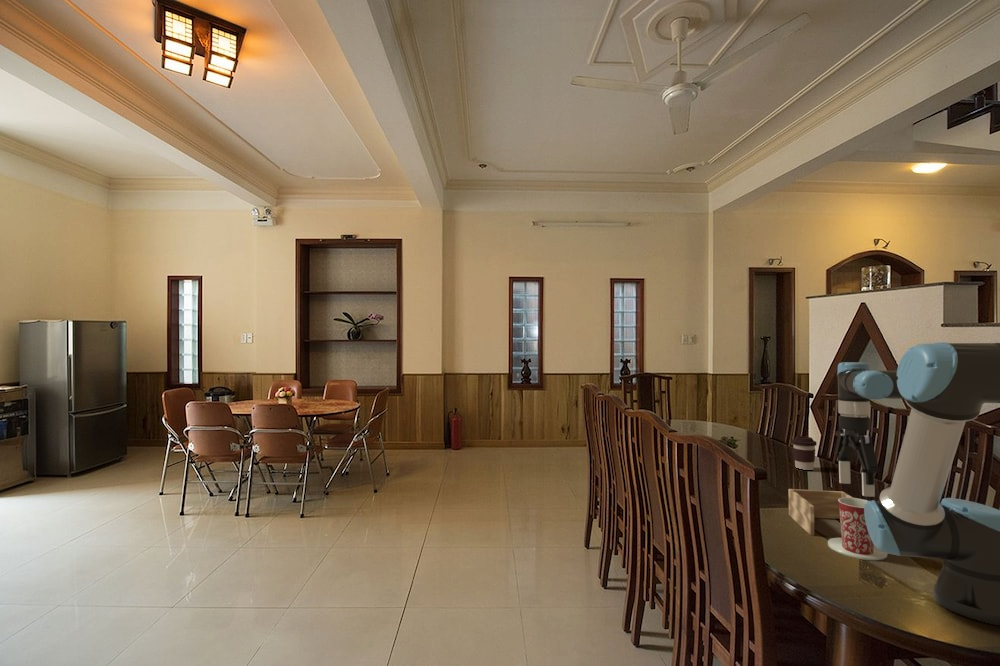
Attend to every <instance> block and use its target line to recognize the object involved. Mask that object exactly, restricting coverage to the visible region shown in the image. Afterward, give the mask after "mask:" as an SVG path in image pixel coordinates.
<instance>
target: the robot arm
mask: <svg viewBox="0 0 1000 666" xmlns="http://www.w3.org/2000/svg"><path fill="white" fill-rule="evenodd" d="M836 376H837V395H838V396H837V397H838V399H837V408H838V409H837V410H838V411H837V412H838V414H840V415H839V416H838V427H839V429H838V439H837V443H836V446H835V452H834V457H835V458H837V460H838V475H839V477H838V479H839V480H838V481H839V484H845V485H846V484H847V485H850V484H851V461H852V460H851V458H850V457H851V455H852V452H853V451H855V452H856V454H857V457H858V460H859V463H860V465H861V468H862V469H861V470H860V473H861V494H862V496H863V497H874V498H875V497H876V496H875V495H876V492H875V491H876V490H875V474H876V473H879V472H880V468H879V463H878V460H877V456H876V452H875V448H874V445H873V437H872V435H866V433H865V432H866V431H870V430H871V427H872V425H871V424H872V423H871V418H870V417H869V416H870V415H871V408H872V404H871V400H883V399H889V400H891V399H894V400H895V399H897V400H899V399H900V400H902V399H903V400H904V401H905V403H906V405H907V406H908V407H910V409H911V410H910V413H909V416H908V417H909V418H908V420H907V423H906V424H907V425H906V428H905V431H904V436H903V439H902V442H901V446H900V447H901V448H900V451H899V454H898V459H897V463H896V465H895V469H894V473H893V478H892V482H891V484H890V486H888V487H887V488H884V489H883V490H881V492H880V494H879V498H878V500H877V501H876V500H874V499H872V500H867V502H866V503H865V506H864V515H865V522H866V526H867V530H868V533H869V535H870V538H871V540H872V542H873V544H874V545H875V547H876V548H877V549H878V550H880V551H881V552H883V553H887V555H889V554H890V555H895V556H897V557H898V556H899V557H911V558H912V557H914V558H925V559H936V560H942V568H941V571H940V572H939V574H938V576H937V579H936V582H935V584H934V585H933V598H934V600H935V601H936V602H937V604H939V605H940V606H942V607H943V608H945V609H946V608H947V609H946V610H948V609H949V610H948V611H950V610H951V611H950V612H952V611H954V612H956V613H955V614H957V613H959V614H961V615H964V616H966V617H965V618H967V617H969V618H968V619H970V618H972V619H971V620H973V619H976V620H978V621H977V622H980V621H982V622H981V623H984V622H985V623H984V624H988V623H989V624H988V625H994V626H999V627H1000V509H997V508H995V507H992V506H989V505H986V504H983V503H979V502H976V501H970V500H966V499H962V498H961V499H960V498H953V497H944V498H942V495H943V493H944V490H945V487H946V484H947V480H948V478H949V474H950V471H951V469H952V465H953V462H954V459H955V456H956V453H957V450H958V447H959V443H960V440H961V438H962V434H963V431H964V427H965V425H966V423H967V422H970V421H974V420H975V419H977V418H978V416H979V415H980V413H981V409H982V407H983V405H984V404H1000V342H973V343H972V342H965V343H959V342H958V343H953V342H951V343H950V342H949V343H948V342H944V341H943V342H941V341H937V342H932V343H921V344H915V345H914V346H912V347H910V348H909V349H907V350H906V351H905V352H904V354H903V355H902V356H901V359H900V360H899V363H898V365H897V370H874V369H873V370H871V369H870V366H869V364H868V363H867V362H854V361H853V362H852V361H851V362H849V361H845V362H844V361H843V362H839V363H838V365H837V373H836ZM954 612H953V613H954ZM959 614H958V615H959ZM961 615H960V616H961ZM964 616H963V617H964ZM976 620H975V621H976Z"/></svg>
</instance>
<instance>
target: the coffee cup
mask: <svg viewBox="0 0 1000 666" xmlns="http://www.w3.org/2000/svg"><path fill="white" fill-rule="evenodd" d="M791 444H792V445H793V447H792V450H793V460H794V466H795V467H796V468H799V469H803V470H813V471H814V469H815V468H814V467H815V460H816V459H815V457H816V446H817V441H815V440H814V439H813V437H810V436H804V435H803V436H802V435H801V436H799V435H798V436H795V437H794V438H792V439H791ZM796 468H795V469H796Z"/></svg>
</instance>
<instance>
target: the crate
mask: <svg viewBox="0 0 1000 666" xmlns="http://www.w3.org/2000/svg"><path fill="white" fill-rule="evenodd" d="M840 498H854V497H853V496H851V495H850V494H848V493H846V492H844V491H836V490H818V489H796V488H795V489H794V488H788V516H790V517H791V518H792V519H793V521H795V522H796V523H797V524H798V525H799V526H800V527H801V528H802V529H803V530H805V532H807V534H809V535H810V536H815V518H817V519H818V518H819V519H820V518H821V519H837V520H840V511H839V502H838V499H840Z"/></svg>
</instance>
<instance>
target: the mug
mask: <svg viewBox="0 0 1000 666" xmlns="http://www.w3.org/2000/svg"><path fill="white" fill-rule="evenodd" d="M867 501H868V500H867V499H864V498H863V499H862V498H857V497H853V498H840V499H838V502H839V511H840V519H839V521H840V534H841V537H840V538H842V547H843V548H844V549H845V550H847V551H850V552H853V553H856V554H862V555H870V554H872V553H873V549H874V544H873V542H872V540H871V538H870V535H869V533H868V530H867V526H866V522H865V515H864V506H865V503H866V502H867Z"/></svg>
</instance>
